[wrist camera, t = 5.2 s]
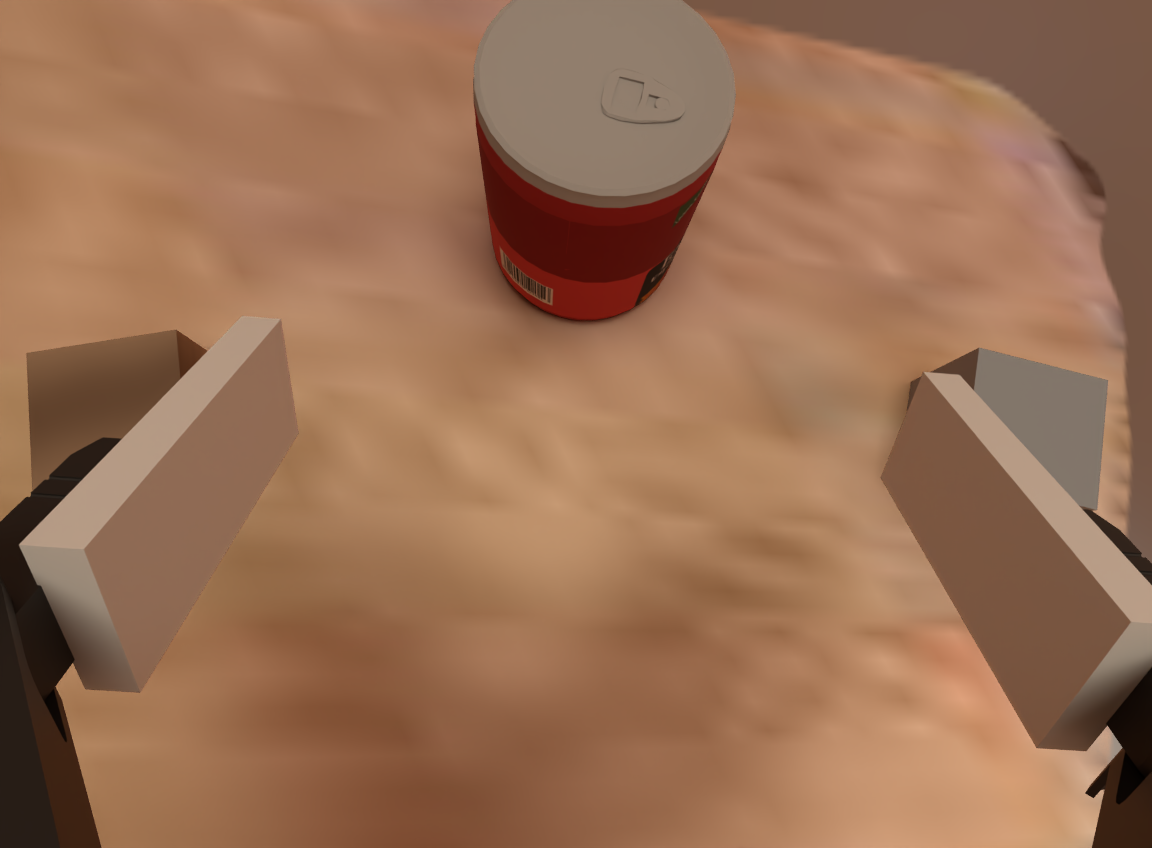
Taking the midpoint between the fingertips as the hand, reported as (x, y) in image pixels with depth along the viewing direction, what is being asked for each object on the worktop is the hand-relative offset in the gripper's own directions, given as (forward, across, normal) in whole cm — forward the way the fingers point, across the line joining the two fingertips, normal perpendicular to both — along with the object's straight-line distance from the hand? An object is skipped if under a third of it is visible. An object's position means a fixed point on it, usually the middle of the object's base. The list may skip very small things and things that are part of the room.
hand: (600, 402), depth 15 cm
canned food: (+18, 0, -3) cm, 19 cm away
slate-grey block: (+13, +17, -9) cm, 23 cm away
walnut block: (+11, -16, -10) cm, 22 cm away
